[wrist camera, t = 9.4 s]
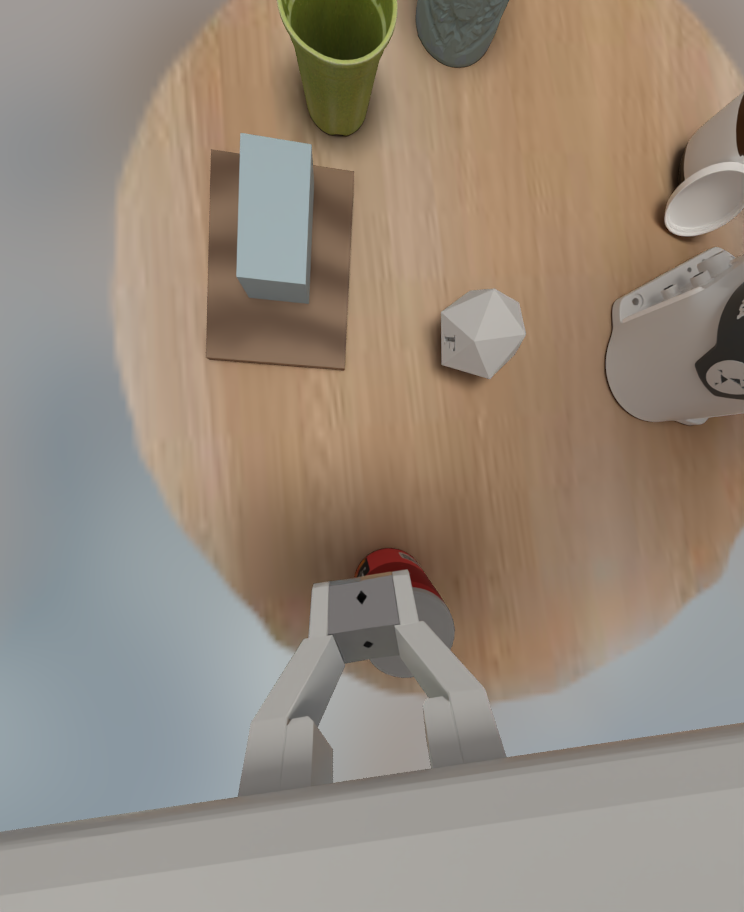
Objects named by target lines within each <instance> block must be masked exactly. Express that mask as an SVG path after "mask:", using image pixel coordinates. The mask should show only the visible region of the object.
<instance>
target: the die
mask: <svg viewBox="0 0 744 912" xmlns="http://www.w3.org/2000/svg"><path fill="white" fill-rule="evenodd" d="M525 336H526V332H525V327H524V323H523V318H522V314H521V309H520V305H519V302H517V301H515V300H514V299H512V298H510V297H508V296H506V295H505V294H503V293H501V292H499V291H498V290H496V289H484V290H473V291H469V292H467V293H466V294H465V295H463V296H462V297H461V298H459V299H458V300H457V301H455V302H454V303H453V304H451V305H450V306H449V307H447V308H446V309H445V310H443V311H442V312H441V353H442V365H444V366H447V367H451V368H454V369H457V370H461V371H464V372H467V373H471V374H474V375H477V376H481V377H484V378H487V379H490V378H491V377H492V376H493V375H494V374H495V373H496V372H497V371H498V370H499V369H501V368H502V367H503V366H504V365H505V364H506V363H507V362H508V361H509V360H510V359H511V358H512V357H513V356H514V355H515V353H516V351H517V350H518V348H519V346H520V344H521V343H522V341H523V339H524V337H525Z"/></svg>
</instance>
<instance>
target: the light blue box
mask: <svg viewBox="0 0 744 912" xmlns="http://www.w3.org/2000/svg"><path fill="white" fill-rule="evenodd" d="M313 199H314V174H313V160H312V145H311V144H306V143H300V142H293V141H287V140H281V139H275V138H269V137H263V136H257V135H250V134H244V133H241V136H240V169H239V203H238V237H237V271H236V277H237V279H238V280H239V282H240V284H241V285H242V287H243V289H244V290H245V292H246V293H247V295H248V297H249V298H257V299H266V300H276V301H286V302H295V303H305V304H309V292H310V269H311V245H312V222H313Z"/></svg>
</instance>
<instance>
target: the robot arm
mask: <svg viewBox="0 0 744 912" xmlns="http://www.w3.org/2000/svg"><path fill="white" fill-rule="evenodd" d="M632 302H633V303H632ZM612 318H613V331H612V335H611V339H610V342H609V345H608V349H607V355H606V373H607V378H608V382H609V386H610V388H611V391H612V393H613V395H614V397H615V398H616V400H617V401H618V402H619V404H620V405H621V406H622V407H623V408H624V409H625V410H626V411H627V412H628V413H630V414H631V415H633V416H635V417H637V418H639V419H641V420H645V421H650V422H663V421H677V422H680V423H683V424H686V425H699V424H703V423H704V422H706V420H707V419H708V418H709V417H717V416H726V415H734V414H742V413H744V255H742V256H739V257H737V258H735V257H734V256H733V255H731V254H730V253H729V252H727V251H725V250H723V249H721V248H719V247H714V248H711V249H709V250H706V251H704V252H702V253H700V254H698V255H696V256H694V257H693V258H691V259H689V260H687V261H685V262H684V263H682V264H680V265H678V266H676V267H675V268H673V269H671V270H669V271H667V272H666V273H664V274H662V275H660V276H658V277H656V278H655V279H653V280H651V281H649V282H647V283H646V284H644V285H642V286H640V287H638V288H637V289H635V290H633V291H631V292H629V293H628V294H626V295H624V296H622V297H620V298H619V299H617V300H616V301H615V302H614V305H613V310H612ZM393 583H394V584H393ZM398 655H400V657H401V659H402V660H403V662H404V663H405V665H406V666H407V667H408V669H409V670H410V672H411V673H412V675H413V676H414V677H415V679H416V680H417V682H418V683H419V685H420V686H421V687H422V689H423V690H424V692H425V693H426V694H427V696H428V697H429V698H428V699H426V700H425V702H424V704H423V713H424V723H425V733H426V740H427V746H428V752H429V759H430V765H431V769H425V770H418V771H411V772H404V773H397V774H391V775H384V776H378V777H370V778H363V779H357V780H350V781H343V782H336V783H333V749H332V748H331V746H330V745H329V743H328V742H327V740H326V739H325V737H324V736H323V735H322V733H321V732H320V731H319V729H318V725H319V723H320V721H321V719H322V716H323V714H324V712H325V710H326V707H327V705H328V703H329V700H330V698H331V696H332V694H333V692H334V689H335V687H336V685H337V682H338V680H339V678H340V676H341V674H342V671H343V669H344V667H345V663H350V662H356V661H362V660H367V659H373V658H381V657H390V656H398ZM0 912H744V723H737V724H731V725H724V726H717V727H710V728H704V729H697V730H690V731H683V732H676V733H670V734H663V735H656V736H650V737H642V738H635V739H629V740H622V741H616V742H608V743H601V744H595V745H588V746H581V747H575V748H567V749H561V750H554V751H547V752H540V753H533V754H527V755H520V756H514V757H506V754H505V751H504V748H503V745H502V741H501V738H500V735H499V732H498V729H497V725H496V722H495V719H494V716H493V713H492V709H491V706H490V703H489V700H488V697H487V694H486V690H485V688H484V687H483V686H482V685H481V684H480V683H479V682H478V680H477V679H476V678H475V677H474V676H473V675H472V674H471V673H470V672H469V670H468V669H467V668H466V667H465V666H464V665H463V664H462V663H461V662H460V661H459V659H458V658H457V657H456V656H455V655H454V654H453V653H452V652H451V651H450V649H449V648H448V647H447V646H446V645H445V644H444V643H443V642H442V641H441V639H440V638H439V637H438V636H437V635H436V634H435V633H434V632H433V631H432V629H431V628H430V627H429V626H428V625H427V624H426V623H425V622H424V621H419V619H418V614H417V609H416V604H415V600H414V595H413V590H412V585H411V580H410V575H409V571H408V569H406V570H400V571H394V572H385V573H379V574H373V575H367V576H361V577H357V578H350V579H343V580H336V581H327V582H321V583H315V584H314V585H313V588H312V596H311V610H310V624H309V637H308V638H306V639H303V641H302V642H301V644H300V646H299V647H298V649H297V650H296V652H295V653H294V655H293V657H292V658H291V660H290V661H289V663H288V665H287V666H286V668H285V670H284V671H283V673H282V674H281V676H280V677H279V679H278V681H277V682H276V684H275V685H274V687H273V689H272V690H271V692H270V694H269V695H268V696H267V698H266V700H265V701H264V703H263V704H262V706H261V708H260V709H259V711H258V713H257V714H256V715H255V717H254V719H253V720H252V722H251V725H250V731H249V736H248V742H247V748H246V753H245V759H244V764H243V770H242V776H241V781H240V788H239V793H238V797H234V798H228V799H221V800H214V801H207V802H200V803H193V804H187V805H180V806H173V807H166V808H160V809H153V810H146V811H139V812H133V813H126V814H119V815H112V816H105V817H98V818H91V819H85V820H78V821H71V822H64V823H57V824H50V825H44V826H37V827H30V828H23V829H16V830H10V831H4V832H0Z"/></svg>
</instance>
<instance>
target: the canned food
mask: <svg viewBox="0 0 744 912" xmlns="http://www.w3.org/2000/svg"><path fill="white" fill-rule="evenodd" d="M406 569H408V571H409V575H410V580H411V585H412V590H413V595H414V600H415V604H416V609H417V614H418V619H419V621H424V622H425V623H426V624H427V625H428V626H429V627H430V628H431V629H432V631H433V632H434V633H435V634H436V635H437V636H438V637H439V638H440V639H441V641H442V642H443V643H444V644H445V645H446V646H447V647H448V648H449V649H451V647H452V644H453V640H454V632H455V628H454V622H453V619H452V616H451V614H450V611H449V609H448V608H447V606H446V604H445V603H444V601H443V600H442V598H441V596H440V595H439V593H438V592H437V591H436V589H435V588H434V586H433V585H432V583H431V582H430V580H429V579H428V577H427V576H426V574H425V573H424V571H423V570H422V568H421V567H420V566H419V564H418V563H417V561H416V560H415V559H414V558H413V557H412V556H411V555H409V554H408V553H406V552H404V551H401V550H398V549H393V548H385V549H380V550H377V551H374V552H372V553H371V554H369V555H368V556H367V557H366V558H364V559H363V561H362V562H361V563H360V565H359V566H358V568H357V570H356V573H355V577H354V578H357V577H361V576H367V575H373V574H379V573H385V572H394V571H400V570H406ZM393 584H394V583H393ZM369 660H370V661H371V663H372V664H373V665H374V666H375V667H377V668H378V669H379V670H381V671H382V672H384V673H386V674H388V675H391V676H394V677H401V678H409V677H414V676H413V675H412V673H411V672H410V670H409V669H408V667H407V666H406V665H405V663H404V662H403V660H402V659H401V657H400V655H398V656H390V657H381V658H373V659H369Z"/></svg>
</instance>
